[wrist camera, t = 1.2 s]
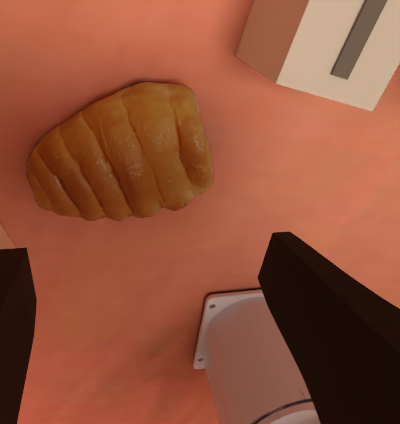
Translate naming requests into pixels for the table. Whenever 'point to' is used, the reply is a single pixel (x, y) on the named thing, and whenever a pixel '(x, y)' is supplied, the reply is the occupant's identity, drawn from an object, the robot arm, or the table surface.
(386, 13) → the marked block grey
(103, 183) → the pastry
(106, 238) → the table surface
